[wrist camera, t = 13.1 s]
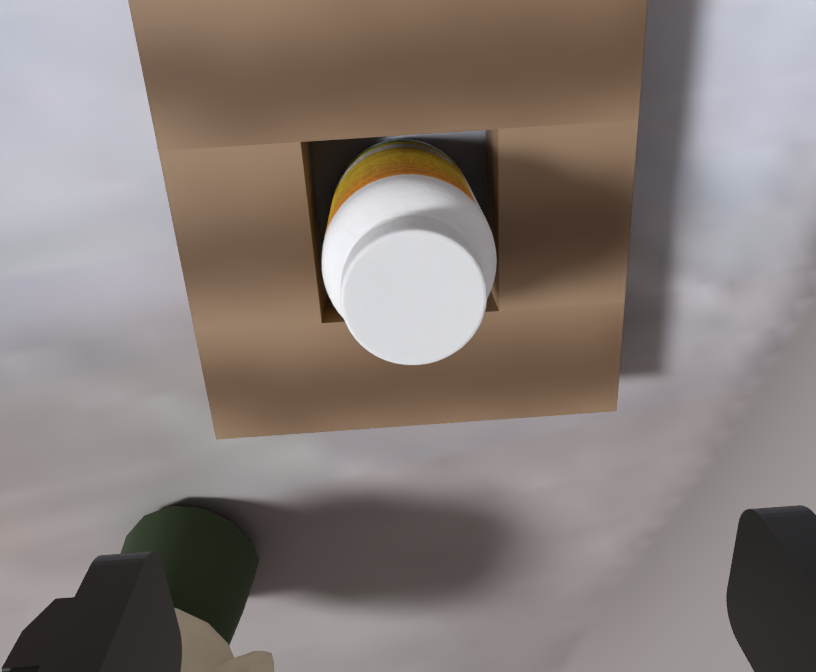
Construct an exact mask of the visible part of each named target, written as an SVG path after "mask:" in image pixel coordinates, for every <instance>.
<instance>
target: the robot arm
mask: <svg viewBox="0 0 816 672" xmlns="http://www.w3.org/2000/svg"><path fill="white" fill-rule="evenodd" d="M727 610H728V616H729V620H730V624H731V627H732V630H733V633H734V635H735V637H736V639H737V641H738V643H739V645H740V647H741V649H742V650H743V652H744V654H745V656H746V658H747V659H748V661H749V663H750V664H751V666H752V668H753V670H754V672H816V515H815V514H814V513H813V512H812V511H811V510H810V509H809V508H807V507H805V506H800V505H798V506H785V507H773V508H760V509H748V510H745V511H744V512H743V513H742V515H741V517H740V519H739V524H738V530H737V535H736V541H735V547H734V553H733V559H732V564H731V571H730V576H729V582H728V587H727ZM181 664H182V639H181V632H180V628H179V624H178V620H177V617H176V613H175V609H174V605H173V601H172V598H171V594H170V590H169V586H168V582H167V579H166V575H165V571H164V567H163V564H162V561H161V558H160V556H159V555H158V553H156V552H141V553H127V554H114V555H101V556H98V557H97V558H95V559H94V561H93V562H92V564H91V565H90V567H89V569H88V571H87V573H86V575H85V577H84V579H83V581H82V583H81V585H80V587H79V589H78V591H77V593H76V595H75V597H72V598H59V599H55V600H54V601H53V602H52V603H51V604H50V605H49V606H48V607H47V608H46V609H45V610H44V611H42V612H41V613H40V614H39V615H38V616H37V617H36V618H35V619H34V620H33V621H32V622H31V623H30V624H29V625H28V626H27V627H26V628H25V629H24V630H23V631H22V633H21V634H20V636H19V638H18V640H17V642H16V643H15V645H14V647H13V649H12V651H11V652H10V654H9V656H8V658H7V660H6V661H5V663H4V665H3V667H2V672H181Z"/></svg>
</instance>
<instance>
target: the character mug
mask: <svg viewBox="0 0 816 672" xmlns="http://www.w3.org/2000/svg"><path fill="white" fill-rule="evenodd" d="M141 552H156V553H158V555H159V556H160V558H161V561H162V564H163V567H164V571H165V575H166V579H167V582H168V586H169V590H170V594H171V598H172V601H173V605H174V609H175V613H176V617H177V620H178V624H179V628H180V632H181V639H182V664H181V672H274V662H273V657H272V653H269V652H265V651H253V652H251V653H248V654H245V655H242V656H239V657H236V658H234V656H233V654H232V652H231V649H230V647H229V645H230V642H231V640H232V637H233V635H234V633H235V630H236V628H237V625H238V623H239V620H240V618H241V615H242V613H243V610H244V607H245V604H246V601H247V598H248V595H249V592H250V589H251V586H252V583H253V580H254V576H255V572H256V568H257V565H258V561H259V559H258V556H257V554H256V552H255V550H254V547H253V545H252V543H251V541H250V539H249V538H247V537H246V536H245V535H244V534H243V533H242V532H241V531H240V530H239V529H238V528H237V527H236V526H235V525H234V524H233V523H232V522H231V521H229V520H227V519H225V518H223V517H220V516H218V515H216V514H214V513H212V512H209V511H207V510H205V509H203V508H195V507H181V506H169V507H167V508H164V509H161V510H159V511H156V512H153V513H151V514H148V515H145V516H144V517H143V518H142V519H141V520H140V521H139V522H138V524H137V525H136V526H135V527H134V528H133V529H132V530H131V532H130V533H129V534H128V535H127V536H126V539H125V542H124V545H123V548H122V551H121V554H127V553H141Z"/></svg>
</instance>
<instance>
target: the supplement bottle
mask: <svg viewBox="0 0 816 672" xmlns="http://www.w3.org/2000/svg"><path fill="white" fill-rule="evenodd" d="M496 264H497V257H496V248H495V242H494V239H493V235H492V232H491V229H490V226H489V224H488V222H487V220H486V218H485V216H484V214H483V212H482V210H481V208H480V206H479V204H478V202H477V200H476V198H475V196H474V194H473V192H472V190H471V188H470V186H469V184H468V182H467V180H466V178H465V176H464V174H463V173H462V171H461V170H460V168H459V167H458V165H457V164H456V163H455V162H454V161H453V160H452V159H451V158H450V157H449V156H448V155H446V154H445V153H444V152H442V151H441V150H439V149H438V148H436V147H434V146H432V145H430V144H427V143H425V142H422V141H418V140H412V139H393V140H388V141H384V142H380V143H377V144H375V145H373V146H371V147H369V148H367V149H365V150H363V151H362V152H361V153H359V154H358V155H357V156H356V157H355V158H354V159H353V160H352V161H351V162H350V163H349V164H348V165H347V167H346V168H345V169H344V171H343V172H342V174H341V176H340V178H339V180H338V182H337V185H336V187H335V191H334V194H333V199H332V204H331V209H330V214H329V218H328V224H327V228H326V232H325V237H324V242H323V250H322V275H323V280H324V284H325V287H326V290H327V293H328V295H329V298H330V300H331V302H332V304H333V305H334V307H335V308H336V310H337V311H338V313H339V314H340V315H341V316H342V317H343V319H344V320H345V322H346V325H347V327H348V329H349V331H350V332H351V334H352V335H353V336H354V338H355V339H356V340H357V341H358V342H359V343H360V344H361V345H362V346H363V347H364V348H365V349H366V350H368V351H369V352H370V353H372V354H374V355H375V356H377V357H379V358H381V359H384V360H386V361H389V362H393V363H397V364H403V365H422V364H428V363H433V362H436V361H439V360H441V359H444V358H446V357H448V356H450V355H452V354H453V353H455V352H456V351H458V350H459V349H461V348H462V347H463V346H464V345H465V344H466V343H467V342H468V341H469V340H470V339H471V338H472V337H473V335H474V334H475V333H476V331H477V329H478V328H479V326H480V324H481V322H482V319H483V317H484V313H485V310H486V304H487V298H488V296H489V294H490V292H491V289H492V286H493V283H494V279H495V273H496Z"/></svg>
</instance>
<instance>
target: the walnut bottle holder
mask: <svg viewBox="0 0 816 672" xmlns="http://www.w3.org/2000/svg"><path fill="white" fill-rule="evenodd" d="M128 1H129V6H130V11H131V16H132V21H133V26H134V31H135V36H136V41H137V46H138V51H139V56H140V61H141V66H142V71H143V76H144V81H145V86H146V91H147V96H148V101H149V106H150V111H151V116H152V121H153V126H154V131H155V136H156V141H157V146H158V151H159V156H160V161H161V166H162V171H163V176H164V181H165V186H166V191H167V196H168V201H169V206H170V211H171V216H172V221H173V226H174V231H175V236H176V241H177V246H178V251H179V256H180V261H181V266H182V271H183V276H184V281H185V286H186V291H187V296H188V301H189V306H190V311H191V316H192V321H193V326H194V331H195V336H196V341H197V346H198V350H199V355H200V360H201V365H202V370H203V375H204V380H205V385H206V390H207V395H208V400H209V405H210V410H211V415H212V420H213V425H214V430H215V435H216V439H228V438H242V437H257V436H271V435H285V434H299V433H313V432H327V431H341V430H356V429H370V428H384V427H398V426H412V425H426V424H440V423H455V422H469V421H483V420H497V419H511V418H525V417H539V416H553V415H568V414H582V413H596V412H610V411H617V398H618V385H619V372H620V358H621V345H622V332H623V319H624V305H625V292H626V279H627V265H628V252H629V239H630V226H631V212H632V199H633V186H634V172H635V159H636V146H637V133H638V119H639V106H640V93H641V79H642V66H643V53H644V40H645V26H646V13H647V0H128ZM475 130H486V173H487V222H488V224H489V226H490V229H491V232H492V235H493V239H494V242H495V248H496V257H497V264H496V273H495V279H494V283H493V286H492V289H491V292H490V294H489V296H488V298H487V304H486V310H485V313H484V317H483V319H482V322H481V324H480V326H479V328H478V329H477V331H476V333H475V334H474V335H473V337H472V338H471V339H470V340H469V341H468V342H467V343H466V344H465V345H464V346H463V347H462V348H461V349H459V350H458V351H456V352H455V353H453V354H452V355H450V356H448V357H446V358H444V359H441V360H439V361H436V362H433V363H428V364H422V365H403V364H397V363H393V362H389V361H386V360H384V359H381V358H379V357H377V356H375V355H374V354H372V353H370V352H369V351H368V350H366V349H365V348H364V347H363V346H362V345H361V344H360V343H359V342H358V341H357V340H356V339H355V338H354V336H353V335H352V334H351V332H350V331H349V329H348V327H347V325H346V322H345V320H344V319H343V317H342V316H341V315H340V314H339V313H338V311H337V310H336V308H335V307H334V305H333V304H332V302H331V300H330V298H329V295H328V294H327V291H326V287H325V284H324V280H323V275H322V247H321V238H320V229H319V220H318V212H317V203H316V194H315V185H314V176H313V167H312V158H311V149H310V141H323V140H338V139H353V138H369V137H384V136H399V135H414V134H429V133H445V132H460V131H475Z"/></svg>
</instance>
